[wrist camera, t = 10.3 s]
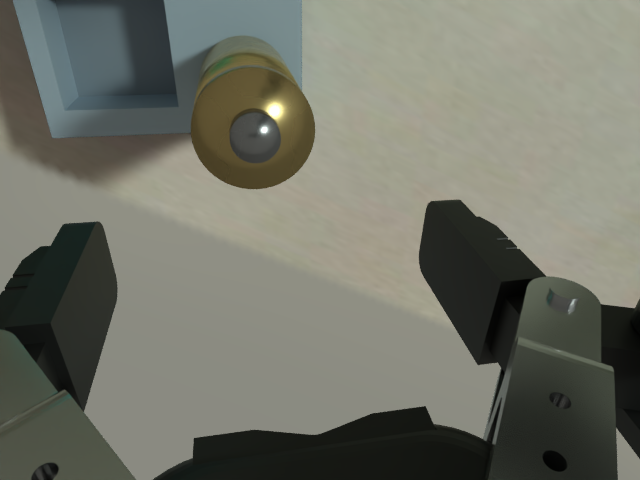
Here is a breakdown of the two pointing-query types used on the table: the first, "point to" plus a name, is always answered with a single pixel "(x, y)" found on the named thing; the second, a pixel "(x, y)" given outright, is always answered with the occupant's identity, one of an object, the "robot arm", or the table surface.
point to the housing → (139, 57)
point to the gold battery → (250, 115)
